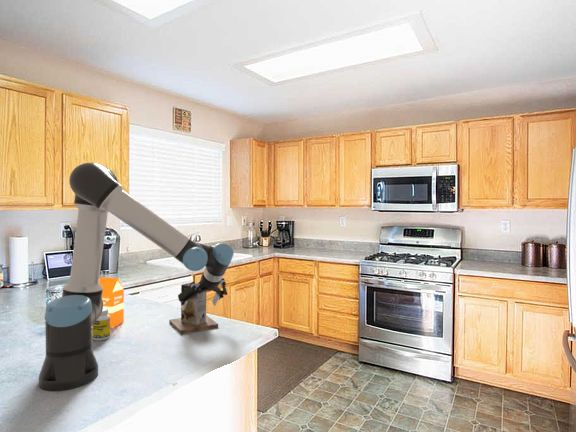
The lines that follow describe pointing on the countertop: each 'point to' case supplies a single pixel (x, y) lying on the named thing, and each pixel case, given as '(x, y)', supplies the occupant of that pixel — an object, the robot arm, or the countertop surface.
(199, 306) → the coffee box
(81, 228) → the robot arm
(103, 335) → the pill bottle
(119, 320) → the orange juice
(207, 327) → the walnut board
